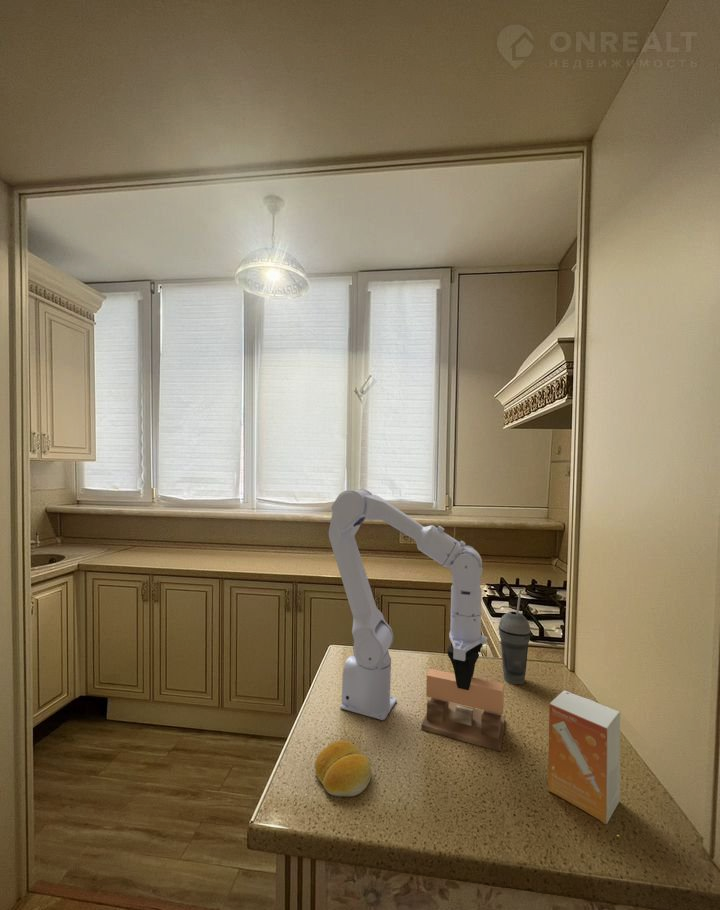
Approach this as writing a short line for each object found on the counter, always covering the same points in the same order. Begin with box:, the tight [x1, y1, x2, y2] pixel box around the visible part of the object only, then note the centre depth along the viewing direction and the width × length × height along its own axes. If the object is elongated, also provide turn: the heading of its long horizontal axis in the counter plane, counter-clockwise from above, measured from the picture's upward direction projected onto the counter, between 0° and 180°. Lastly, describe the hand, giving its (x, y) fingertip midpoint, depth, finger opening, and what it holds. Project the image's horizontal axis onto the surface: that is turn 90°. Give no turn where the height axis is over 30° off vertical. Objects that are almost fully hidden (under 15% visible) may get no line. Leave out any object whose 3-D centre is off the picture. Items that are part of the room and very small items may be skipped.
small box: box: [547, 690, 621, 825], centre depth 60 cm, size 8×6×13 cm
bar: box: [425, 668, 505, 715], centre depth 77 cm, size 14×3×4 cm, turn 67°
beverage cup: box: [497, 593, 532, 685], centre depth 95 cm, size 7×7×20 cm
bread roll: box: [314, 740, 372, 797], centre depth 63 cm, size 8×9×4 cm
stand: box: [420, 697, 506, 752], centre depth 77 cm, size 14×10×4 cm
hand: (464, 683), depth 77 cm, fingers closed on bar, 3 cm apart
